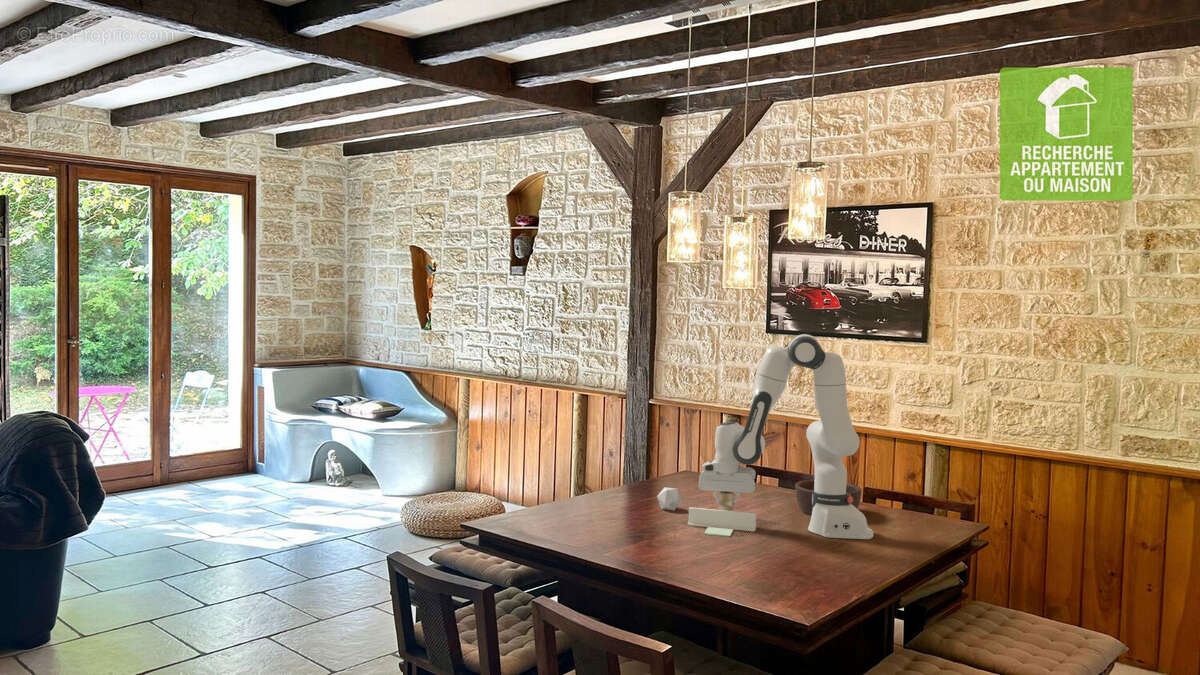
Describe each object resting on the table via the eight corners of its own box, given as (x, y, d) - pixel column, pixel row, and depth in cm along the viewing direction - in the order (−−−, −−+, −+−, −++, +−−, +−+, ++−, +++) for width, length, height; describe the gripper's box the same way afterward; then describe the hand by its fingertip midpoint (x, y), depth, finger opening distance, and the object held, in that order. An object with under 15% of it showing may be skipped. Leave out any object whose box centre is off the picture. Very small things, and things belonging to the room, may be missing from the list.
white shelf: (756, 528, 323) (756, 512, 323) (754, 531, 319) (755, 514, 319) (689, 522, 329) (690, 506, 329) (687, 525, 325) (688, 508, 325)
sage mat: (733, 530, 320) (733, 529, 320) (730, 536, 311) (730, 535, 311) (707, 527, 322) (708, 526, 322) (704, 534, 314) (704, 533, 314)
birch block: (733, 513, 332) (733, 491, 332) (731, 516, 328) (731, 493, 327) (721, 512, 333) (721, 490, 333) (719, 515, 329) (719, 493, 329)
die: (666, 514, 343) (682, 494, 343) (649, 499, 348) (665, 479, 348) (673, 518, 351) (689, 497, 351) (656, 503, 355) (672, 483, 355)
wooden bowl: (868, 521, 339) (869, 494, 338) (801, 519, 339) (802, 492, 339) (851, 506, 364) (852, 480, 363) (788, 504, 364) (789, 478, 364)
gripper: (756, 465, 330) (756, 503, 331) (700, 462, 336) (700, 499, 336) (754, 469, 324) (754, 507, 325) (697, 465, 329) (697, 503, 330)
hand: (726, 503), depth 330 cm, fingers closed on birch block, 4 cm apart
